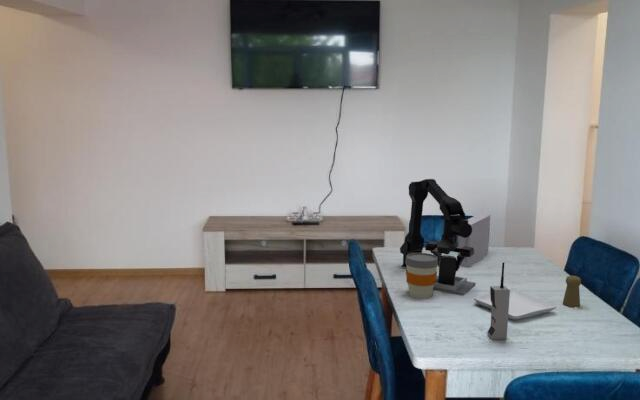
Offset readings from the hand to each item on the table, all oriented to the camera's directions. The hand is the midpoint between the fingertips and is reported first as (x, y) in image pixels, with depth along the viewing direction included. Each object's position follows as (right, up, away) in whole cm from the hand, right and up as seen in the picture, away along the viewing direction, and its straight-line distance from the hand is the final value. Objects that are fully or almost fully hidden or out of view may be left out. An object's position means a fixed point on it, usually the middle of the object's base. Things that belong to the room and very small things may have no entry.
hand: (448, 269), depth 230 cm
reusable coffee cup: (-13, -9, -8) cm, 18 cm away
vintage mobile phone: (+5, -16, -48) cm, 51 cm away
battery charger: (-1, -6, +2) cm, 6 cm away
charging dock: (0, -7, +1) cm, 7 cm away
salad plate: (+19, -12, -23) cm, 32 cm away
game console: (+20, 0, +39) cm, 44 cm away
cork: (+42, -11, -19) cm, 47 cm away
